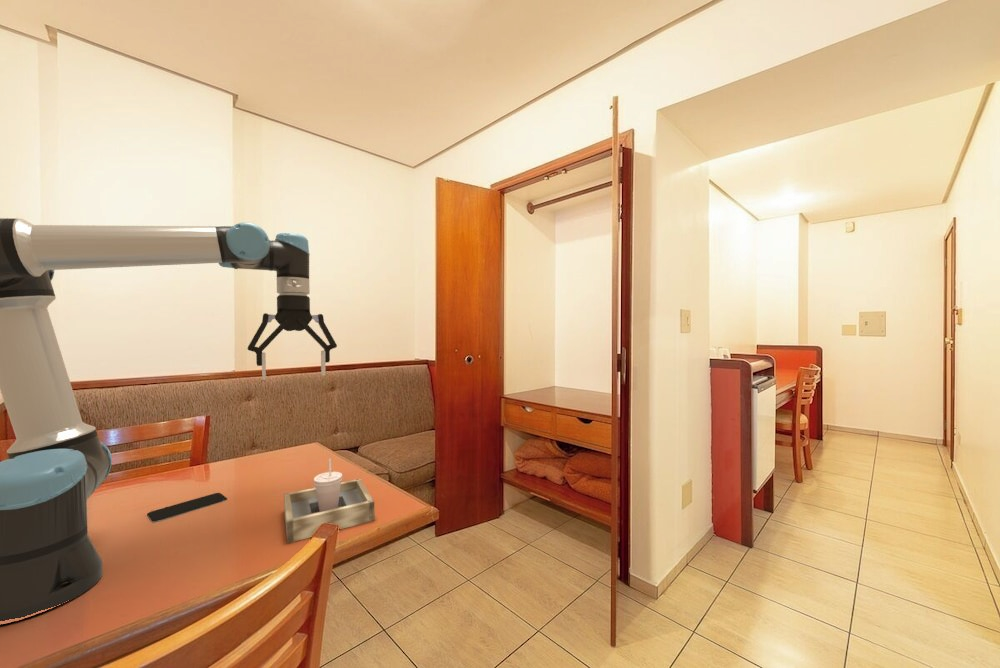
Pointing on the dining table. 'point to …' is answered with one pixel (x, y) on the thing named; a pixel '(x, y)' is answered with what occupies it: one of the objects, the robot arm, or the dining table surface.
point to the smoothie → (328, 489)
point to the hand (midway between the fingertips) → (294, 376)
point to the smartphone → (185, 507)
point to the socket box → (305, 503)
